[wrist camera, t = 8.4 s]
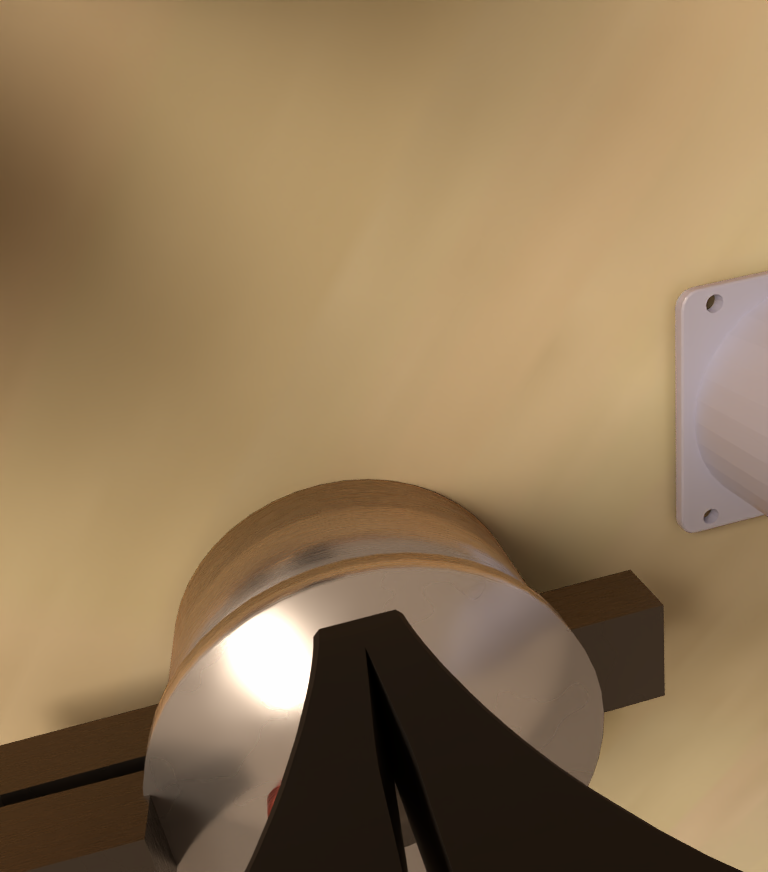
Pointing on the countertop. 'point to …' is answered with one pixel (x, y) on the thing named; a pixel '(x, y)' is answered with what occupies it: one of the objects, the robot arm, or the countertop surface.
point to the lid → (282, 707)
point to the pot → (324, 544)
